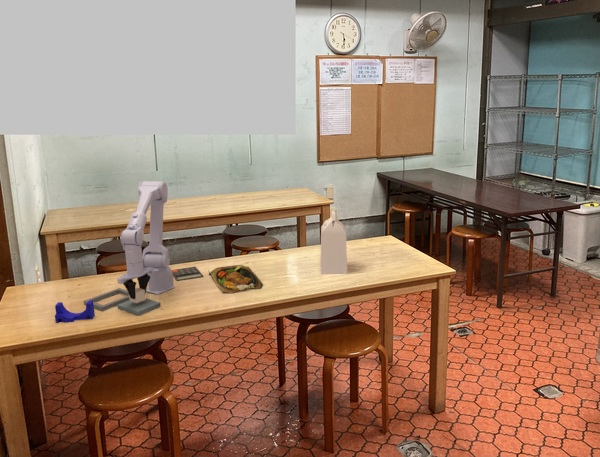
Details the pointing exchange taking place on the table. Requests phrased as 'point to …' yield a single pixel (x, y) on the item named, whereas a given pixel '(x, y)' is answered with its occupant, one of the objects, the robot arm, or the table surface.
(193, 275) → the calculator
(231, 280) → the prepared meal
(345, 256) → the milk
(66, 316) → the cable clip
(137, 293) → the cream block
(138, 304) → the slate pad
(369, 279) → the table surface
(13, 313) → the table surface
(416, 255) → the table surface
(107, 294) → the pocket frame
